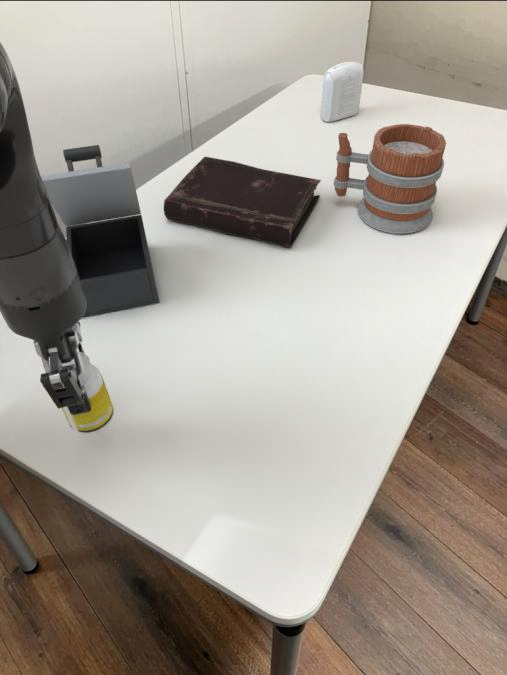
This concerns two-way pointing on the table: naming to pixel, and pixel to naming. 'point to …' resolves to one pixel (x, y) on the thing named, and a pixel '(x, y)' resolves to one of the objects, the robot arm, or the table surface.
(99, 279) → the dark grey open box
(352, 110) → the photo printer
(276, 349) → the table surface
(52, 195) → the lid
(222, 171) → the diary
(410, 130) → the mug
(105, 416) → the supplement bottle
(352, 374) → the table surface
